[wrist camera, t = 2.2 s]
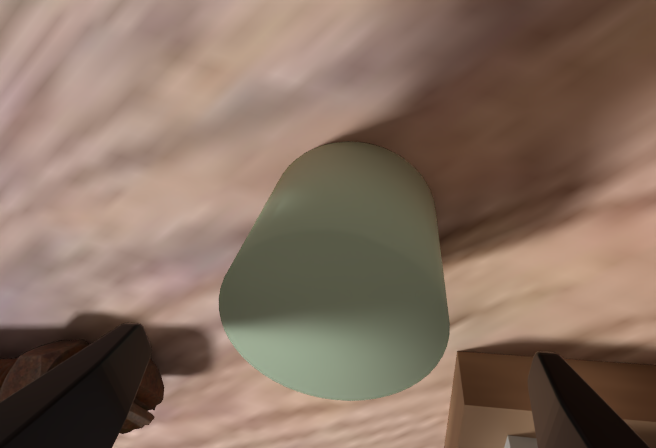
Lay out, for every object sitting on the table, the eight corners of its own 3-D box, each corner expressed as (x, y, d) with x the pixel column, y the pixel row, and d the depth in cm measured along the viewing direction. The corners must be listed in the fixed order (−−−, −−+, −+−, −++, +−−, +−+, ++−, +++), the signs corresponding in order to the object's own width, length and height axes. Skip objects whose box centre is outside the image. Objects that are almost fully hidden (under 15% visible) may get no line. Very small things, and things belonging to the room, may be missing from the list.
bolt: (188, 339, 22) (-47, 347, 25) (129, 310, 18) (-148, 324, 20) (165, 469, 19) (-98, 461, 22) (88, 472, 15) (-226, 462, 18)
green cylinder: (282, 279, 16) (240, 391, 12) (261, 141, 13) (195, 226, 9) (430, 285, 15) (440, 409, 11) (442, 140, 12) (461, 233, 8)
